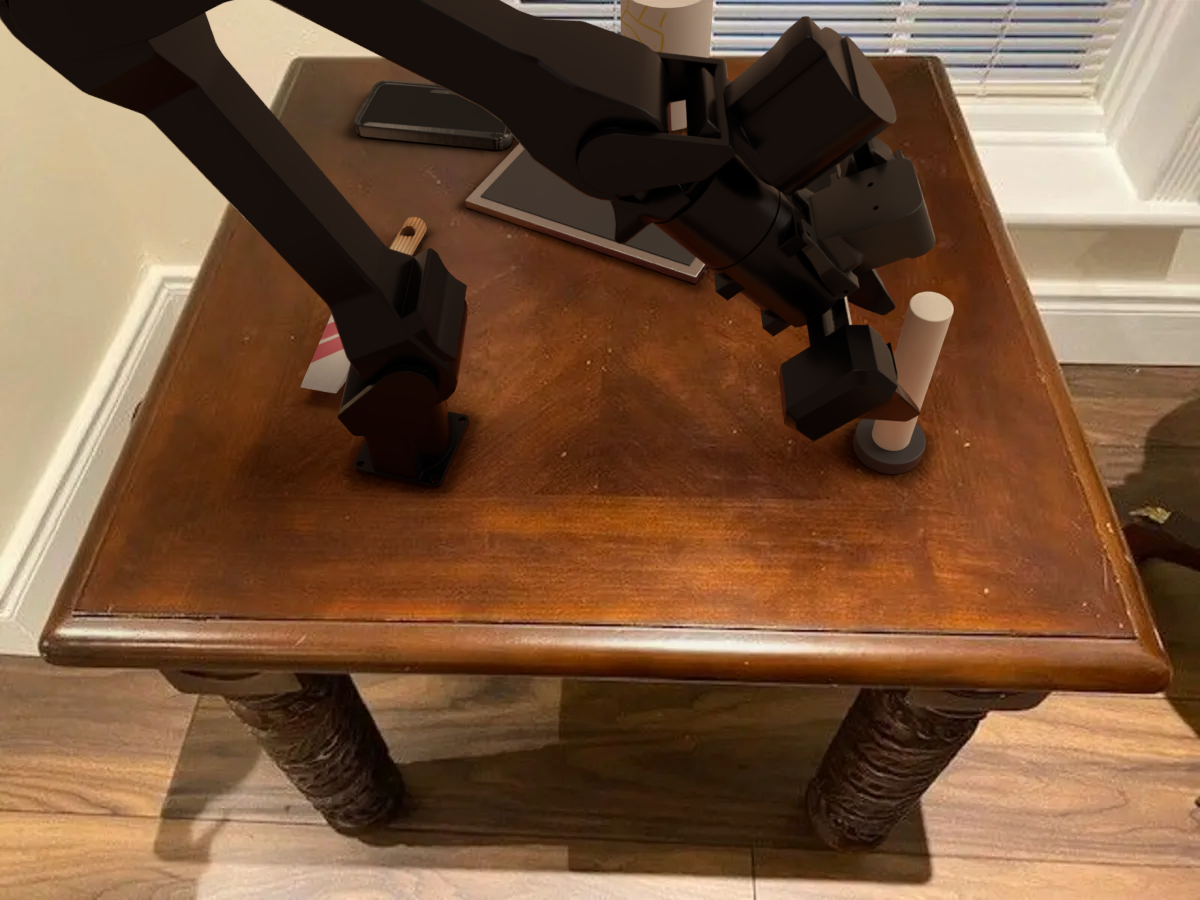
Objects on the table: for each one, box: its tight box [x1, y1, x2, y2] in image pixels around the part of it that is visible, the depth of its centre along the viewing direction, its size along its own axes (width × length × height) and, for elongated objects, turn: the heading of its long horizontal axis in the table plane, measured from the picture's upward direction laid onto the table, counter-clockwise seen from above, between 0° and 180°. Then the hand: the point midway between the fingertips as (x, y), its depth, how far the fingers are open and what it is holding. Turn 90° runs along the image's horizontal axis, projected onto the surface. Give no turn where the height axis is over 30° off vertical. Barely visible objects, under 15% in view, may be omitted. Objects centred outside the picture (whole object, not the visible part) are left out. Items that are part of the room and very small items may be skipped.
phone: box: [354, 79, 515, 151], centre depth 98 cm, size 8×1×15 cm
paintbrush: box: [300, 216, 428, 394], centre depth 81 cm, size 4×3×20 cm
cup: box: [619, 0, 714, 132], centre depth 94 cm, size 8×8×12 cm
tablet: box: [464, 142, 708, 285], centre depth 90 cm, size 22×15×1 cm
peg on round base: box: [852, 291, 955, 475], centre depth 67 cm, size 5×5×14 cm
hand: (900, 360), depth 66 cm, fingers open, 9 cm apart
